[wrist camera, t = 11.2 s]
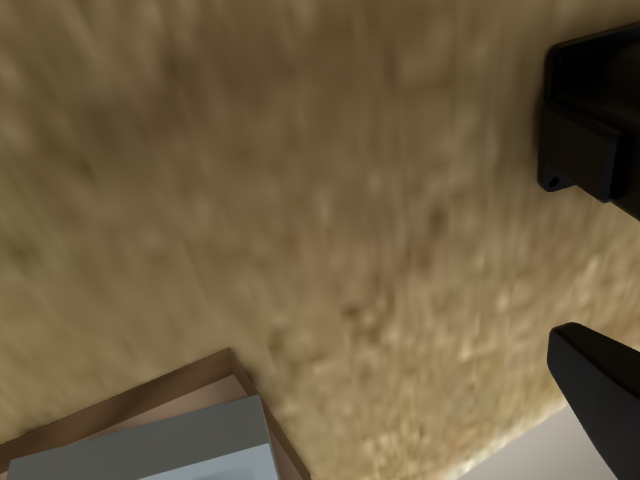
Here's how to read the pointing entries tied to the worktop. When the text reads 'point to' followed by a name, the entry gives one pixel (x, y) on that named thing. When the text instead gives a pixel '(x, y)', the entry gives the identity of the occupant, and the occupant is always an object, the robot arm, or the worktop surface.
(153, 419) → the slab bottom
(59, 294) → the worktop surface
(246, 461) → the slab top
